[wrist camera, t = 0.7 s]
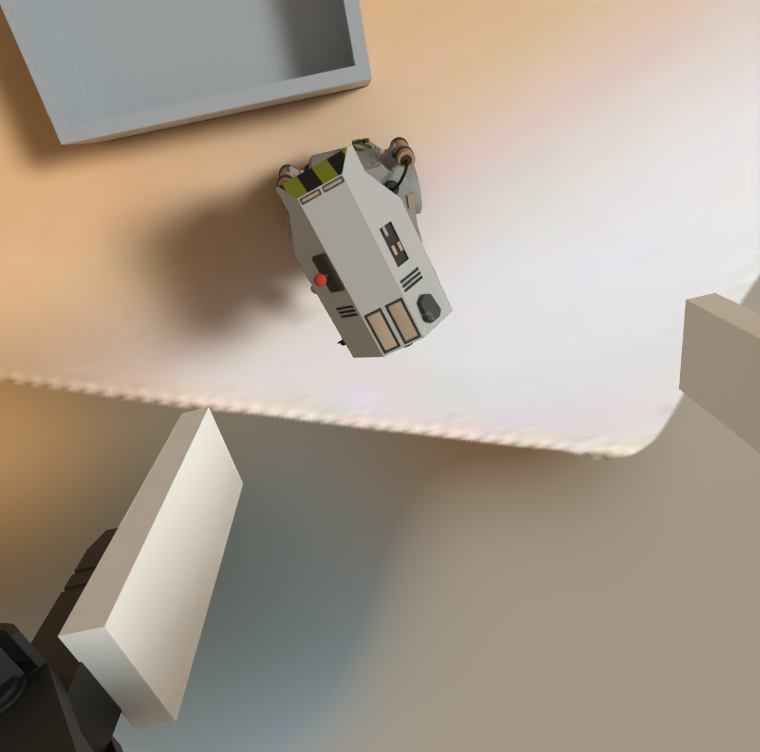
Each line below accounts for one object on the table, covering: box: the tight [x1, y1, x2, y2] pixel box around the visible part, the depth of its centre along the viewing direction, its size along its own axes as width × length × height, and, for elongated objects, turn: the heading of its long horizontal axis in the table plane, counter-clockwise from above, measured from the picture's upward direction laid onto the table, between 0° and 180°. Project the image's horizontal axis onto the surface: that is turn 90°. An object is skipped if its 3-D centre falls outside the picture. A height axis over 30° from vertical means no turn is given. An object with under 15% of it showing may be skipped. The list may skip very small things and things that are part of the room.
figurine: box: [275, 137, 453, 358], centre depth 30 cm, size 9×12×15 cm
